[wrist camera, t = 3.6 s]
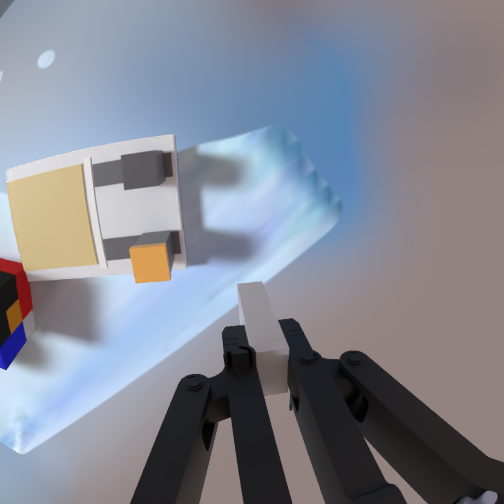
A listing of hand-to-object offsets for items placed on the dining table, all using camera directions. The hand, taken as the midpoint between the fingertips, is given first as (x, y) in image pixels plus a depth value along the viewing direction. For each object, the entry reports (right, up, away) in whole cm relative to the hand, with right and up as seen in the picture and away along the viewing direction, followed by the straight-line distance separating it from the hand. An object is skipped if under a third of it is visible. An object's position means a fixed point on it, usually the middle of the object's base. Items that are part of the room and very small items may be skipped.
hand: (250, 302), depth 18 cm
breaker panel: (-18, +8, +11) cm, 23 cm away
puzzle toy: (-35, -2, +13) cm, 37 cm away
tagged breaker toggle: (-9, +4, +11) cm, 15 cm away
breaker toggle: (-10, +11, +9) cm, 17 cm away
